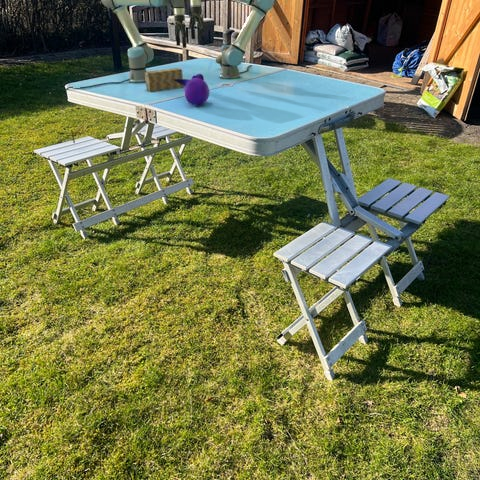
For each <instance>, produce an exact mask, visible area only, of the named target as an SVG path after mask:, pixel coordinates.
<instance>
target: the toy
mask: <svg viewBox="0 0 480 480" xmlns="http://www.w3.org/2000/svg"><path fill="white" fill-rule="evenodd" d="M174 81H176V82H178V83H180V84H182V85H183V87H184V97H185V99H186V101H187V103H189V104H190V105H193V106H199V107H200V106H202V105H204V104H205V103H206V102H207V101H208V99H209V97H210V87H209V86H208V83H207V82H206V81H205V79H204V76H203V75H202V74H201V73H197V74H195V75H192V76H191V78H190V79H187V78H183V79H174Z"/></svg>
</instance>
